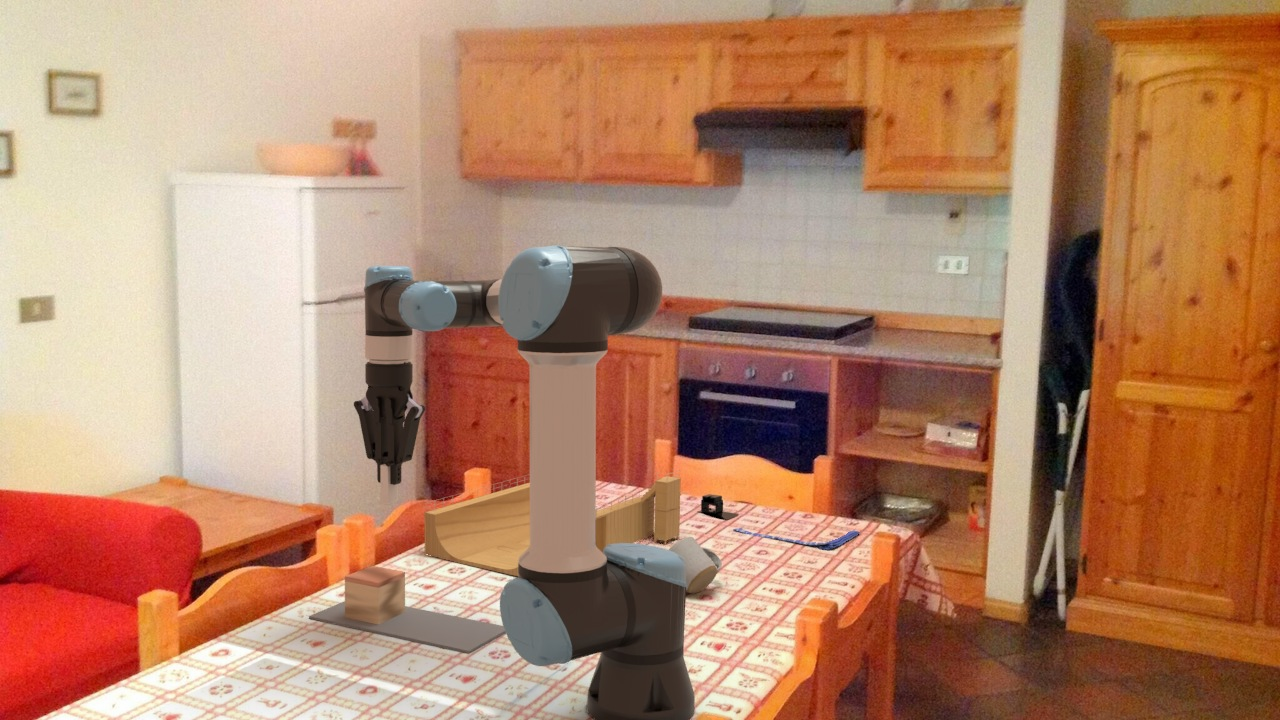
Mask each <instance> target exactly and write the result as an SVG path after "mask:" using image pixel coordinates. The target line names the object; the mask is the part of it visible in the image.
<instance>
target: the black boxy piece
mask: <svg viewBox="0 0 1280 720" xmlns="http://www.w3.org/2000/svg"><path fill="white" fill-rule="evenodd" d="M700 505H701V507H700V510H699V511H697V513H699V514H701V515H704V516H707V517H711V518H713V519H714V518H715V519H718V520H722V521H729V520H733V519H735V518H737V517H739V515H740V514H739V513H736V512H728V511H724V500H723V496H722V495H719V494H712V493H711V494H710V493H709V494H705V495H702V497H701V500H700ZM710 506H712V507H714V508H712V507H710Z"/></svg>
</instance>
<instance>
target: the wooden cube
mask: <svg viewBox="0 0 1280 720" xmlns="http://www.w3.org/2000/svg"><path fill="white" fill-rule="evenodd" d="M344 601H345V617H346V618H350V619H355V620H360V621H364V622H369V623H374V624H378V625H379V624H381V623H383V622H385V621H387V620H389V619H391V618H394V617H396V616H398V615H400V614H402V613H404V612H405V606H406V571H402V570H396V569H391V568H386V567H381V566H374V565H370V566H368V567H366V568H363V569H360V570H358V571H355V572H353V573H350V574H348V575H345V576H344Z"/></svg>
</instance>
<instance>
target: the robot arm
mask: <svg viewBox="0 0 1280 720" xmlns="http://www.w3.org/2000/svg"><path fill="white" fill-rule="evenodd" d="M363 292H364V321H365V322H364V323H365V325H364V326H365V335H364V336H365V337H364V339H365V340H364V342H365V344H364V345H365V347H364V357H365V358H366V360H368V361H367V362H366V364H365V367H364V368H365V371H364V372H365V374H364V375H365V384H366V386H367V389H366V391H365V396H364V397H362V398H361V399H360V400H359V399H358V400H355V401H354V402H353V407H354V408H355V410H356V413H357V414H358V419H359V423H360V428H361V434H362V440H363V444H364V449H365V453H366V457H367V460H373V461H375V464H376V465H377V468H376V472H377V473H376V476H377V477H376V478H377V482H378V483H380V505H387V506H390V505H393V504H396V503H398V502H399V484H401V483H402V466H403V464H404V463H406V462H409V461H412V459H413V456H414V451H415V445H416V441H417V437H418V436H417V435H418V431H419V426H420V420H421V418H422V416H423V415H424V413H425V411H426V407H425V405H424V404H420V405H419V404H418V403H417V402H416V401H415V400H414V395H413V393H412V390H411V387H412V384H413V381H414V379H413V377H414V376H413V374H414V373H413V370H414V369H413V368H414V367H413V363H412V362H411V361H410V360H411V359H412V358H413V330H417V331H419V332H438V331H441V330H444V329H461V328H464V329H465V328H484V327H485V328H487V327H491V328H492V327H497V328H498V327H499V328H500V327H501V328H503V329H504V330H505V332H506V333H507V334H508V336H510V337H511V338H513V339H515V340H516V341H517V354H519V355H520V356H521V357H522V358H523V359H524V360H525V361H526V362H527V364H528V366H529V474H530V475H529V482H530V546H529V548H528V549H527V550H526V551H525V552H524V553H523V554H522V555H521V556H520V557H519V559H518V576H517V577H513V579H511V580H510V581H508V582H507V583H505V585H504V587H503V590H501V593H500V598H499V612H500V617H501V622H502V626H504V629H505V632H506V633H505V635H506V637H507V638H508V641H509V642H510V644H511V646H512V647H513V649H514V651H515V652H516V653H517V654H518V655H519V656H520V657H521V658H522V659H523V660H524V661H525V662H527V663H529V664H530V665H533V666H536V667H547V666H552V665H557V664H559V665H563V664H567V663H569V662H571V661H574V660H577V659H581V658H585V657H589V656H591V655H595V654H599V653H600V656H599V658H598V662H597V664H596V666H595V670H594V672H593V675H592V678H591V681H590V683H589V686H588V689H587V697H586V700H587V701H586V710H587V712H588V714H589V716H590V717H591V718H593V719H594V720H690V719H692V717H693V716H694V715H695V702H696V701H695V698H696V696H695V691H694V688H693V684H692V682H691V678H690V675H689V672H688V668H687V665H686V661H685V657H684V650H685V649H684V648H685V647H684V644H685V622H686V621H685V618H686V617H685V616H686V602H687V601H686V599H687V598H686V597H687V595H686V594H687V591H686V587H687V583H686V577H685V563H684V560H683V559H682V558H681V557H680V556H679V555H678V554H676V553H675V552H672V551H670V550H669V549H668V548H667V549H666V548H663V547H659V546H655V545H650V544H649V545H648V544H643V543H642V544H641V543H635V542H634V543H615V544H610V545H607V546H606V547H605V548H604V549H603V553H602V552H601V551H600V550H599V549H598V548H597V546H596V545H595V520H596V506H597V505H596V502H597V501H596V498H597V497H596V495H597V493H596V491H597V490H596V489H597V488H596V486H597V484H596V483H597V481H596V479H597V478H596V476H597V475H596V474H597V473H596V471H597V468H596V467H597V465H596V462H597V453H596V452H597V447H596V446H597V443H596V440H597V439H596V438H597V437H596V436H597V435H596V434H597V433H596V432H597V429H596V428H597V421H596V420H597V416H596V415H597V393H596V392H597V365H598V363H599V362H600V361H601V360H602V359H603V357H604V356H606V354H607V353H608V350H609V349H608V348H609V347H608V346H609V345H608V344H609V340H608V339H609V336H614V335H615V336H616V335H622V334H629V333H631V332H634V331H637V330H639V329H641V328H643V327H644V326H645V325H647V324H648V323H649V322H650V321H651V320H652V319H653V318H654V317H655V315H656V313H657V312H658V310H659V308H660V306H661V303H662V299H663V284H662V279H661V276H660V273H659V271H658V269H657V268H656V267H655V265H654V264H653V263H652V261H651V260H650V259H649V258H647V257H646V256H645V255H643V254H641V253H640V252H638V251H636V250H633V249H630V248H626V247H620V246H609V247H607V246H605V247H604V246H571V245H570V246H569V245H568V246H567V245H557V244H554V245H548V246H536V247H530V248H526V249H525V250H522V251H521V252H519V253H518V254H517V255H515V257H514V258H513V259H512V260H511V262H510V264H509V265H508V266H507V268H506V270H505V271H504V273H503V276H502V278H496V279H484V280H483V279H482V280H480V279H479V280H477V279H476V280H414V277H413V270H412V269H411V268H410V267H409V266H404V265H372V266H369V267H368V268H366V271H365V281H364V288H363Z"/></svg>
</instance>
